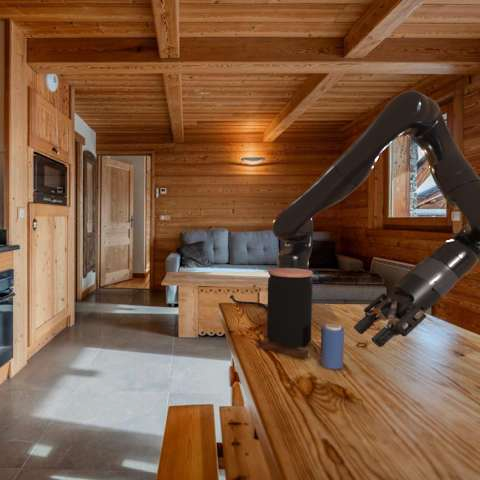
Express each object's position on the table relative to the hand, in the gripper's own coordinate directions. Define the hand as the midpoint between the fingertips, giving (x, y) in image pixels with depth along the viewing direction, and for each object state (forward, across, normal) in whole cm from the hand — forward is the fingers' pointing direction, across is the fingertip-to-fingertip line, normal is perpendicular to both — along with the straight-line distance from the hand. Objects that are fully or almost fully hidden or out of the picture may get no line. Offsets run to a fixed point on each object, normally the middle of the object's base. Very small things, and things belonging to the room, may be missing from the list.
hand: (365, 337), depth 81 cm
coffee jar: (+13, -15, -4) cm, 21 cm away
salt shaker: (+9, 0, 0) cm, 9 cm away
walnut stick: (+15, -7, -6) cm, 18 cm away
